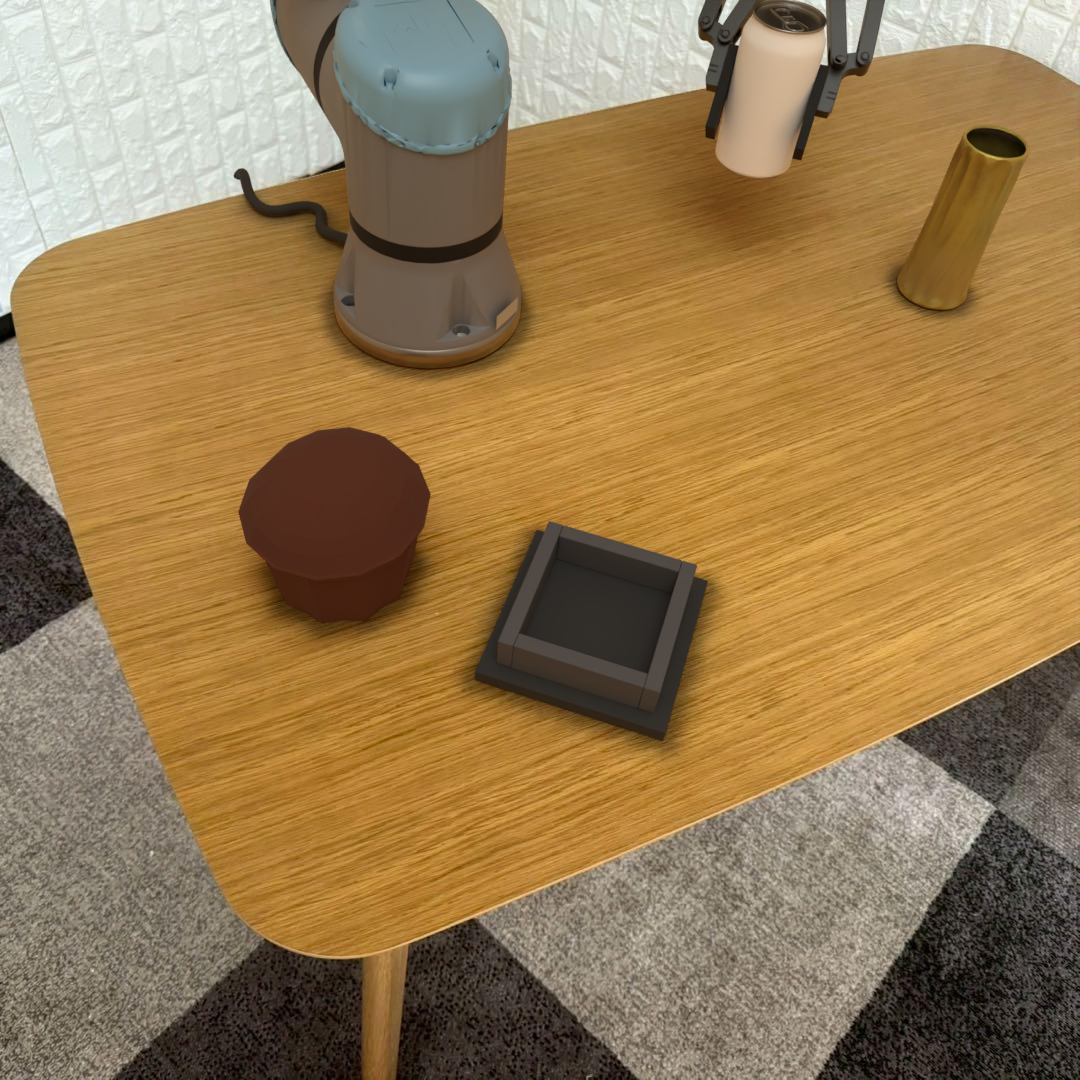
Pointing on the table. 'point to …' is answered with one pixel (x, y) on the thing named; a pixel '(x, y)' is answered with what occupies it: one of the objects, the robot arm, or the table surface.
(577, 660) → the socket pad
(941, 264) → the vase
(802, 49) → the can
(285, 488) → the muffin
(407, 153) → the robot arm
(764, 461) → the table surface
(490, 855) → the table surface
